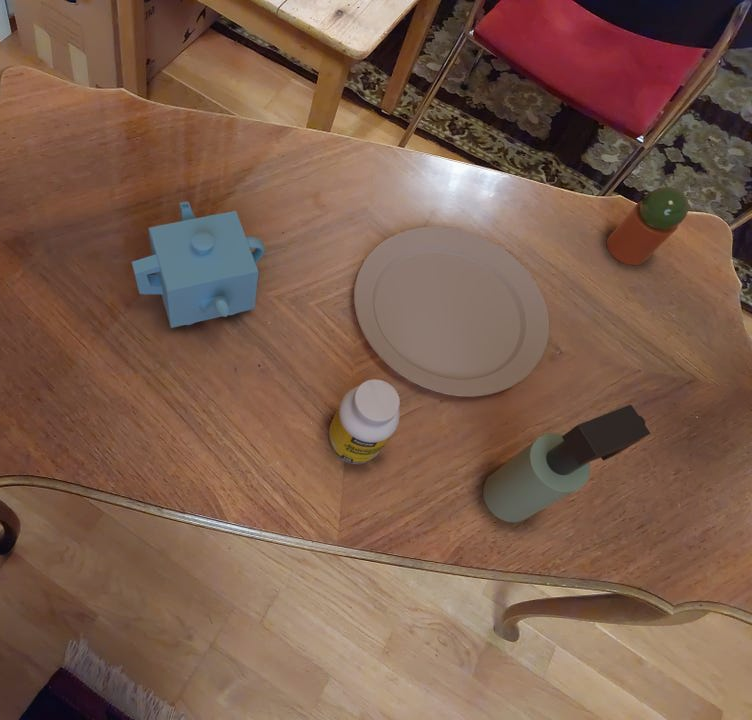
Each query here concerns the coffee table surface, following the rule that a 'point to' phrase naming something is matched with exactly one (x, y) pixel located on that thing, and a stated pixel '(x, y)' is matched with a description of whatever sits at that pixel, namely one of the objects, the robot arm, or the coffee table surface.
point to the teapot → (201, 267)
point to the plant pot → (648, 225)
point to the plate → (451, 311)
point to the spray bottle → (558, 464)
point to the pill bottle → (364, 421)
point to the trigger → (615, 453)
